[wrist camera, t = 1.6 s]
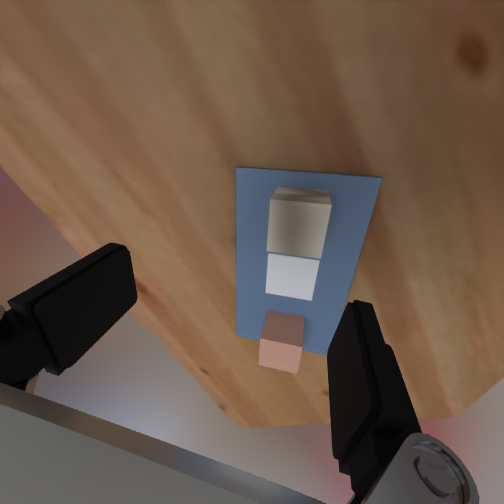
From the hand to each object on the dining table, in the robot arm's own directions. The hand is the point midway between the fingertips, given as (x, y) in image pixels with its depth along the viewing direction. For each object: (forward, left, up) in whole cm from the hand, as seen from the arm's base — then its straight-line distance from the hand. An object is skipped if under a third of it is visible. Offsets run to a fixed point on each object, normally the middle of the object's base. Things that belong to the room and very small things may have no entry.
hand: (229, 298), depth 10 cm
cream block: (-2, +2, -17) cm, 17 cm away
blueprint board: (-2, +10, -17) cm, 20 cm away
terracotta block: (-2, +19, -17) cm, 25 cm away
